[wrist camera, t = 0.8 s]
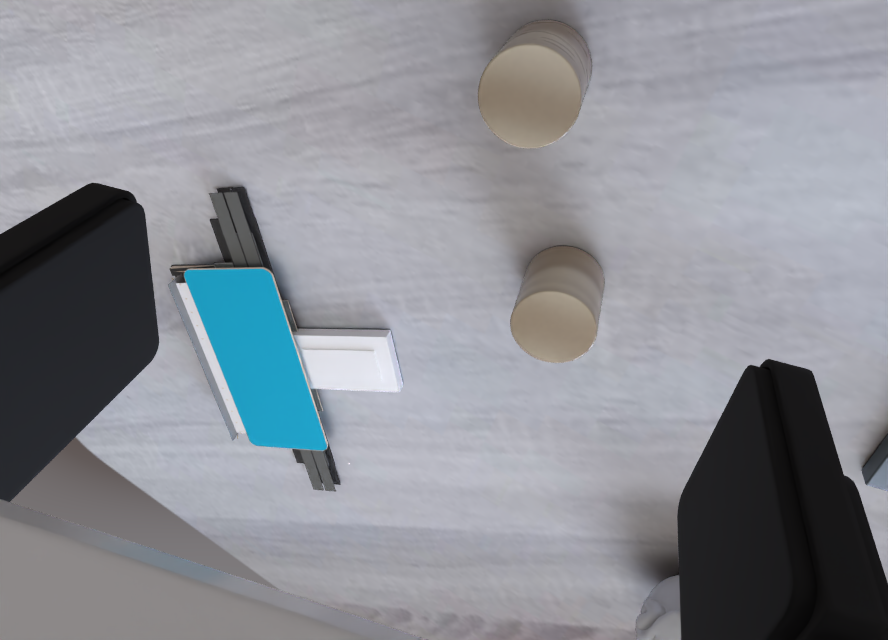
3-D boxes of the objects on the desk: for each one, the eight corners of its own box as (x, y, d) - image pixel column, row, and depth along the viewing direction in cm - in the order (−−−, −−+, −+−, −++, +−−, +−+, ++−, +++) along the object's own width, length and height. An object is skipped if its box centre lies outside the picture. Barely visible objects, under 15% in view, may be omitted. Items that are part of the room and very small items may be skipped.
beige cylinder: (534, 236, 31) (519, 281, 28) (614, 257, 31) (607, 304, 28) (518, 302, 34) (502, 350, 30) (592, 321, 33) (584, 373, 30)
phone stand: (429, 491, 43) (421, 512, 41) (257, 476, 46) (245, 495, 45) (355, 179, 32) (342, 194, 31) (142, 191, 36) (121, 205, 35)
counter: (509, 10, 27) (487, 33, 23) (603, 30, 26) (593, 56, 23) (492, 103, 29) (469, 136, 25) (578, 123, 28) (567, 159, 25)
